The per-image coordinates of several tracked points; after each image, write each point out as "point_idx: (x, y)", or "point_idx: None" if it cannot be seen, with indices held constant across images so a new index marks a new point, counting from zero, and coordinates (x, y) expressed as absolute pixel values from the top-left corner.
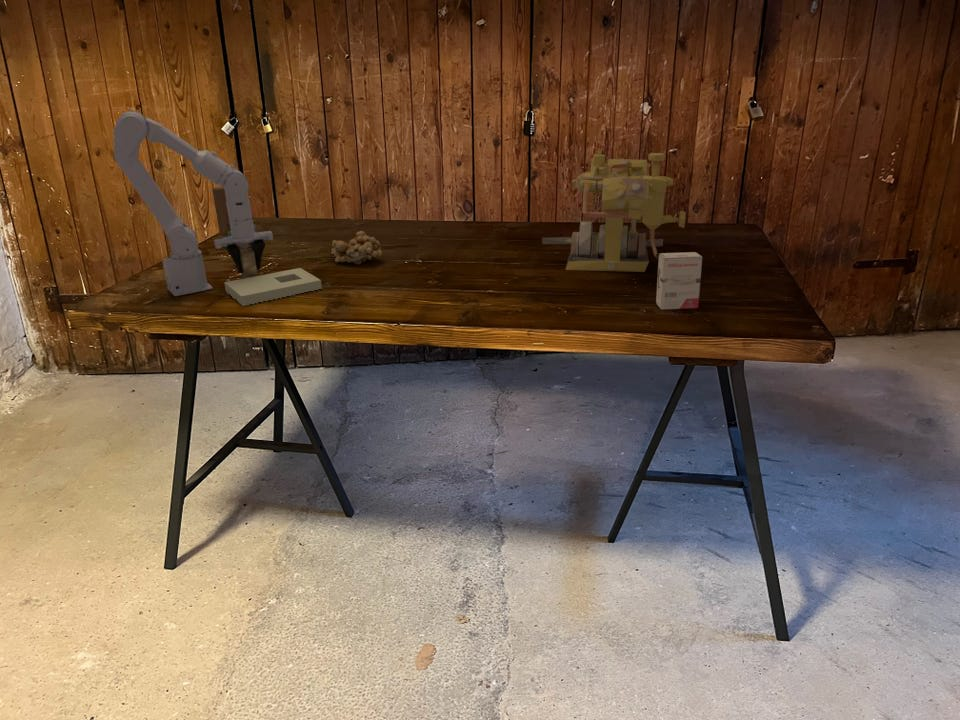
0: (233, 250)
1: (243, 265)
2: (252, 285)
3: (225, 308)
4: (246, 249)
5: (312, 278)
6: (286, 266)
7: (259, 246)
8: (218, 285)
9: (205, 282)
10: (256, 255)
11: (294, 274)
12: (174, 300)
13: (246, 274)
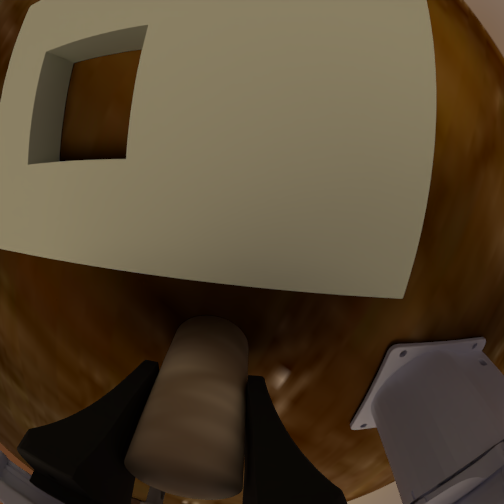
0: (328, 502)
1: (236, 404)
2: (319, 89)
3: (459, 63)
4: (150, 498)
5: (27, 37)
6: (61, 385)
7: (60, 453)
8: (342, 379)
9: (406, 380)
10: (123, 425)
11: (30, 161)
12: (500, 304)
13: (233, 358)
